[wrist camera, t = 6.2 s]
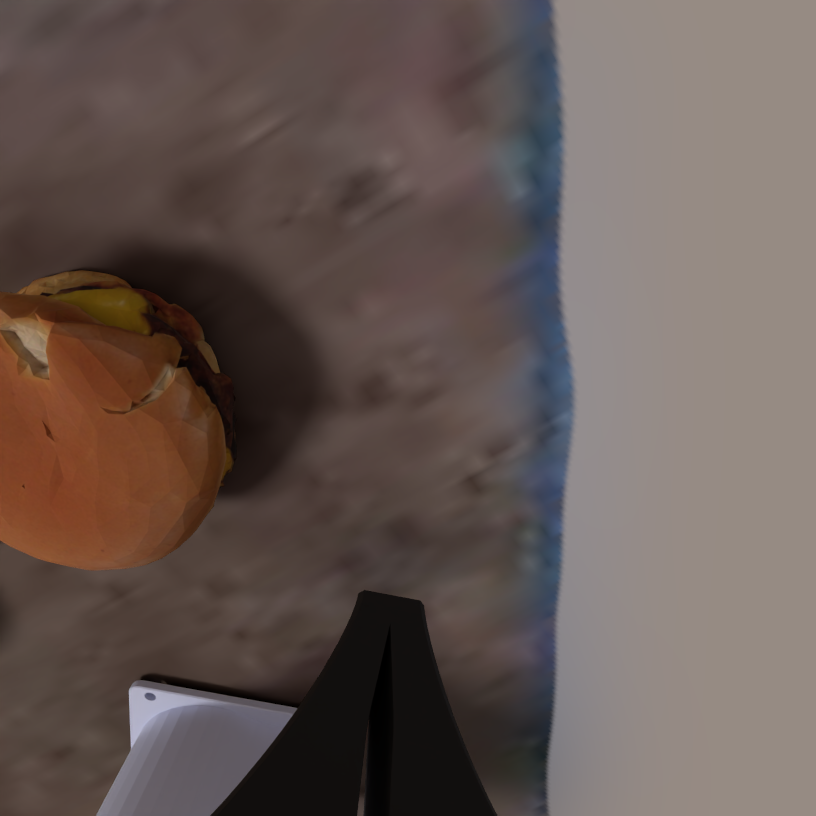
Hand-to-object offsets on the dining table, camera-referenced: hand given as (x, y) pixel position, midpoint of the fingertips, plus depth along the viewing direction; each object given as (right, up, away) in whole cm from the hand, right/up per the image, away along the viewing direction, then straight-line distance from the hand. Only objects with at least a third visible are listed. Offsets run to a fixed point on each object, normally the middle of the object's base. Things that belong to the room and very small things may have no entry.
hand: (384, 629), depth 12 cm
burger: (-10, +5, +8) cm, 13 cm away
